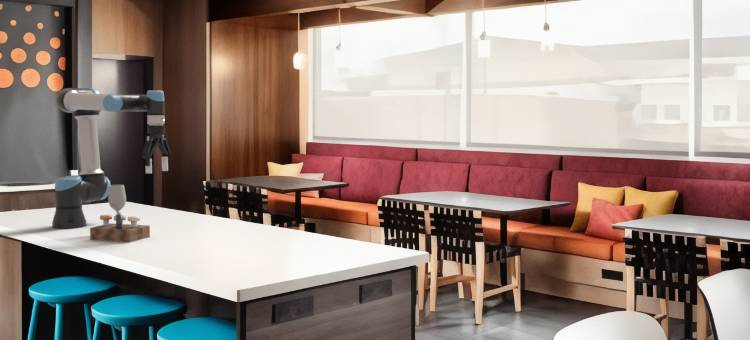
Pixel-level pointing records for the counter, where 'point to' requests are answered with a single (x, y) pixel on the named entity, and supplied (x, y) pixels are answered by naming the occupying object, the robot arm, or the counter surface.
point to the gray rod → (119, 220)
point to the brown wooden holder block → (119, 233)
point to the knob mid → (122, 219)
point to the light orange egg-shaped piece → (105, 219)
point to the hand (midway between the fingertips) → (157, 172)
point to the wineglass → (117, 197)
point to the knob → (134, 221)
